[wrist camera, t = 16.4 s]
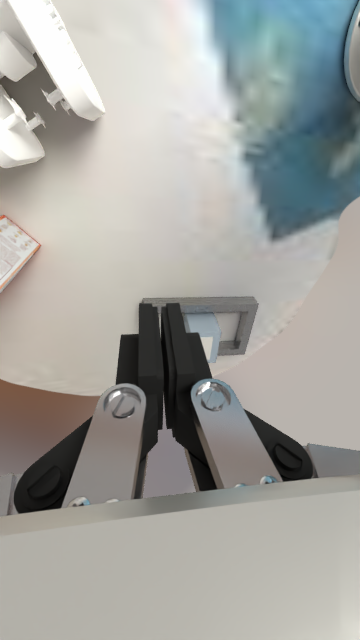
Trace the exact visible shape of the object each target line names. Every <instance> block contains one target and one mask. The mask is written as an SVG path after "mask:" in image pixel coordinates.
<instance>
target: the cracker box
mask: <svg viewBox="0 0 360 640" xmlns="http://www.w3.org/2000/svg"><path fill="white" fill-rule="evenodd" d="M40 246H41V245H40V244H39V243H38V242H36V241H35V240H34V239H33V238H31V237H30V236H29V235H28V234H27V233H25V232H24V231H23V230H22V229H20V228H19V227H18V226H17V225H15V224H14V223H13V222H12V221H11V220H9V219H8V218H7V217H6V216H4V215H3V216H1V217H0V293H1V292H2V291H3V290H4V289H5V287H6V286H7V285H8V284H9V283H10V282H11V281H12V279H13V278H14V277H15V276H16V275H17V273H18V272H19V271H20V270H21V269H22V268H23V266H24V265H25V264H26V263H27V262H28V261H29V259H30V258H31V257H32V256H33V255H34V253H35V252H36V251H37V250H38V249H39V247H40Z"/></svg>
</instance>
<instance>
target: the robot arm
mask: <svg viewBox="0 0 360 640" xmlns="http://www.w3.org/2000/svg"><path fill="white" fill-rule="evenodd" d="M358 24H359V25H358ZM344 69H345V77H346V81H347V85H348V87H349V89H350V91H351V93H352V95H353V96H354V97H355V98H356V99H357V101H359V102H360V0H359V2H358V5H357V7H356V9H355V11H354V14H353V17H352V20H351V23H350V26H349V30H348V34H347V39H346V44H345V54H344ZM163 392H164V403H165V415H166V426H167V429H172V433H173V437H175V439H176V441H177V442H178V443H180V444H181V445H182V446H183V447H184V449H185V455H186V459H187V462H188V466H189V469H190V473H191V476H192V480H193V483H194V486H195V490H196V492H193V493H184V494H176V495H168V496H160V497H152V498H143V491H144V484H145V476H146V468H147V460H148V452H149V451H150V450H151V449H152V448H153V446H154V445H155V444H156V443H157V442H158V436H157V435H158V430H161V429H162V425H163ZM0 640H360V451H356V450H350V449H343V448H336V447H329V446H322V445H315V444H307V446H301V445H300V444H299V443H298V442H296V441H295V440H293V439H292V438H290V437H289V436H287V435H286V434H284V433H282V432H281V431H279V430H277V429H276V428H274V427H273V426H271V425H269V424H268V423H266V422H264V421H263V420H261V419H260V418H258V417H256V416H255V415H253V414H252V413H250V412H248V411H246V410H245V409H243V408H242V406H241V404H240V402H239V400H238V399H237V397H236V395H235V393H234V391H233V390H232V389H231V388H230V386H228V385H227V384H226V383H224V382H222V381H220V380H217V379H212V375H211V372H210V368H209V365H208V362H207V358H206V355H205V351H204V348H203V345H202V341H201V338H200V335H199V333H198V332H190V333H186V330H185V325H184V321H183V317H182V312H181V308H180V304H179V303H166V306H162V307H161V338H160V328H159V317H158V307H153V306H152V303H139V334H129V335H121V340H120V349H119V358H118V368H117V377H116V385H115V386H112V387H111V388H109V389H107V390H106V391H105V392H104V393H103V394H102V395H101V397H100V399H99V401H98V404H97V407H96V409H95V412H94V415H93V416H92V417H91V418H90V419H88V420H87V421H86V422H85V423H83V424H82V425H81V426H80V427H79V428H77V429H76V430H75V431H74V432H72V433H71V434H70V435H68V436H67V437H66V438H65V439H63V440H62V441H61V442H60V443H59V444H57V445H56V446H55V447H54V448H52V449H51V450H50V451H49V452H47V453H46V454H45V455H44V456H42V457H41V458H40V459H39V460H38V461H36V462H35V463H34V464H33V465H31V466H30V467H29V468H28V469H27V470H26V471H25V472H24V473H21V474H18V475H14V473H10V474H7V475H3V476H0Z"/></svg>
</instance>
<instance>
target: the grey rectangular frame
mask: <svg viewBox="0 0 360 640" xmlns="http://www.w3.org/2000/svg"><path fill="white" fill-rule="evenodd" d="M143 303H152V306H153V307H158V313H161V307H162V306H166V303H179V304H180V308H181V312H182V313H196V312H242V314H241V318H240V322H239V327H238V331H237V335H236V339H235V341H221V342H219V347H218V353H217V356H218V355H240V354H245V351H246V347H247V344H248V340H249V336H250V333H251V329H252V326H253V322H254V319H255V315H256V311H257V308H258V303H257V301H256V300H255V298H254V297H205V298H143Z"/></svg>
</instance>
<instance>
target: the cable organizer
mask: <svg viewBox="0 0 360 640" xmlns="http://www.w3.org/2000/svg"><path fill="white" fill-rule="evenodd" d="M66 31H67V30H66V28H65V26H64V24H63V22H62V20H61V18H60V16H59V14H58V12H57V10H56V9H55V7H54V5H53V3H52V2H51V0H0V79H1V78H2V77H3V76H6V77H8V78H9V79H11V80H13V81H15V82H17V81H18V80H20V79H21V78H22V77H24V76H25V75H26V74H28V73H29V72H31V71H32V70H33V69H35V68H36V67H37V64H36V61H35V59H34V57H33V55H32V54H34V53H35V52H36V53H37V55H38V56H39V58H40V60H41V61H42V63H43V65H44V67H45V68H46V70H47V72H48V73H49V75H50V77H51V79H52V80H53V82H54V84H55V85H56V87H57V89H56V90H54V91H53V92H52V93H50V94H49V95H48V94H47V92H46V93H45V92H44V91H43V90H42V89H41V90H42V92H43V93H44V95H45V97H46V98H47V102H48V103H50V104H51V105H52V106H53V108H54V109H55V107H54V105H55V103H57V102H58V101H60V103H61V105H62V107H63V109H65V110H66V112H67V113H68V111H69V110H68V109H70V108H71V109H72V110H73V111H74V112H75V113H76V114H77V115H78V116H80V117H82V118H85V119H88V120H90V121H94V120H96V119H97V118H99V117H100V116H102V115H103V114H105V110H104V106H103V104H102V101H101V99H100V97H99V94H98V92H97V90H96V88H95V86H94V84H93V82H92V80H91V78H90V76H89V74H88V72H87V70H86V69H85V67H84V65H83V63H82V61H81V59H80V57H79V55H78V53H77V51H76V49H75V47H74V45H73V43H72V41H71V39H70V37H69V35H68V34H67V32H66ZM63 98H64V99H65V101H64V102H63V101H62V99H63ZM55 110H56V109H55ZM34 114H35V115H36V116H35V117H34V118H33V119H31V120H30V121H28V122H27V121H26V119H25V118H26V117H27V116H26V115H25V114H24V112H23V111H22V109H21V108H20V107H19V106H18V104H17V103H16V102H15V101H14V99H13V98H12V100H11V98H10V97H9V95H8V94H7V93H6V91H5V90H4V88H3V87H2V85H1V84H0V166H1V167H3V168H11V167H15V166H20V165H25V164H29V163H34V162H36V161H38V160H39V159H41V158H42V157H44V156H45V152H44V149H43V147H42V145H41V143H40V141H39V140H38V138H37V136H36V135H35V133H34V132H33V129H34V128H35V127H37V126H38V125H40V124H41V123H42V124H43V126H44V127H45V125H44V124H45V122H44V121H43V120H42V119H41V117H40V115H39V114H38V112H37V114H36V113H35V112H34ZM68 114H69V113H68ZM69 116H70V115H69ZM45 128H46V127H45Z"/></svg>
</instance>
